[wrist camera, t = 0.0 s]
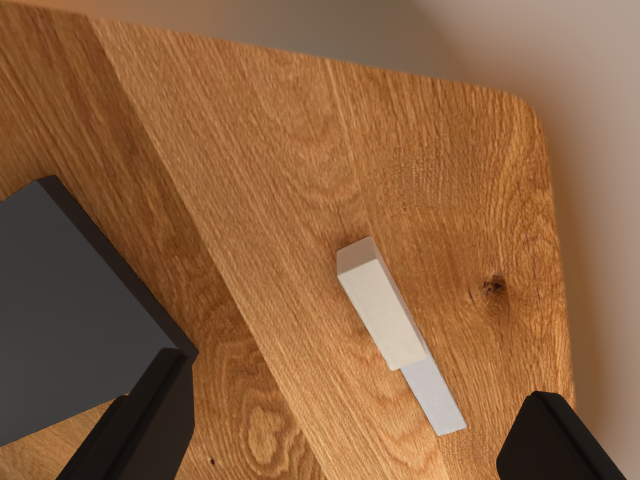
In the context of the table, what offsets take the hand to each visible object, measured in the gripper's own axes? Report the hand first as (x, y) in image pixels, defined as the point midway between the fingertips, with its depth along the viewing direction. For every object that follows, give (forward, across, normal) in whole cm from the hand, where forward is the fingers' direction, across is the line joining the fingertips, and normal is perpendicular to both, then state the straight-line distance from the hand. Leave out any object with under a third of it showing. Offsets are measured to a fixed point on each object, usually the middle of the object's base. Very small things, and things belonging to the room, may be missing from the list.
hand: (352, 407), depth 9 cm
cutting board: (+14, +25, +12) cm, 31 cm away
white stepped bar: (+14, -6, +8) cm, 17 cm away
